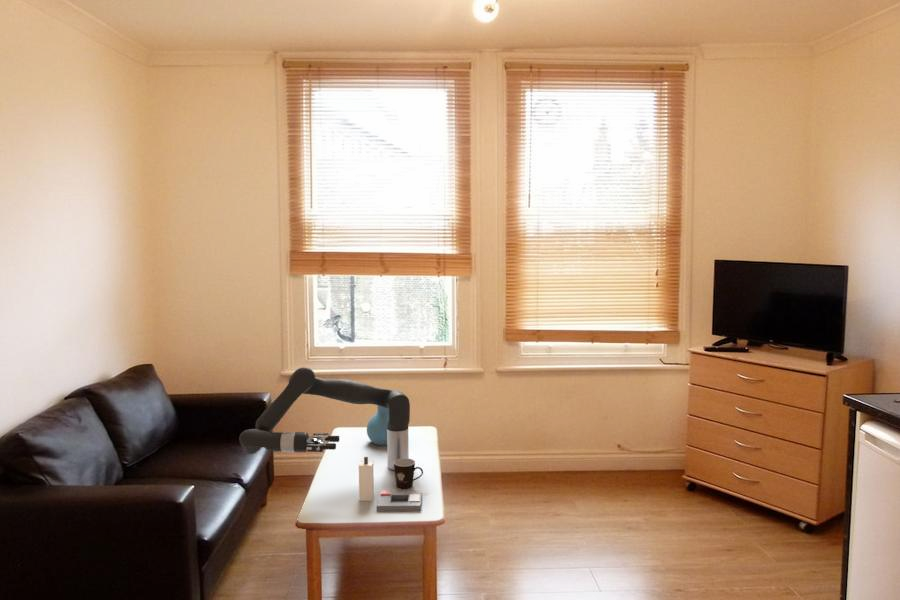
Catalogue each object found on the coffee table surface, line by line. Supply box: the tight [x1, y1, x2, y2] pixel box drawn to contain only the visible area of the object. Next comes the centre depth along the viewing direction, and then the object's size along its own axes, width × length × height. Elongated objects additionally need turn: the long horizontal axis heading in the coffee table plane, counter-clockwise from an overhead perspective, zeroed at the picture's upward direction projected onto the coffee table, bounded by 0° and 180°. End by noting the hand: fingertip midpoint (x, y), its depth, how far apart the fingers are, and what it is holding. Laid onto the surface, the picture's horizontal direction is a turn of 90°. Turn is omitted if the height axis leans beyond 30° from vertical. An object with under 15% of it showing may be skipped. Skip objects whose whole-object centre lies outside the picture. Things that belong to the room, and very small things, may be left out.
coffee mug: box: [393, 458, 424, 491], centre depth 245 cm, size 12×9×10 cm
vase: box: [366, 405, 389, 446], centre depth 297 cm, size 16×16×25 cm
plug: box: [358, 456, 375, 502], centre depth 234 cm, size 4×5×16 cm
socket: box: [376, 490, 422, 512], centre depth 230 cm, size 12×16×3 cm
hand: (337, 442), depth 232 cm, fingers open, 8 cm apart
